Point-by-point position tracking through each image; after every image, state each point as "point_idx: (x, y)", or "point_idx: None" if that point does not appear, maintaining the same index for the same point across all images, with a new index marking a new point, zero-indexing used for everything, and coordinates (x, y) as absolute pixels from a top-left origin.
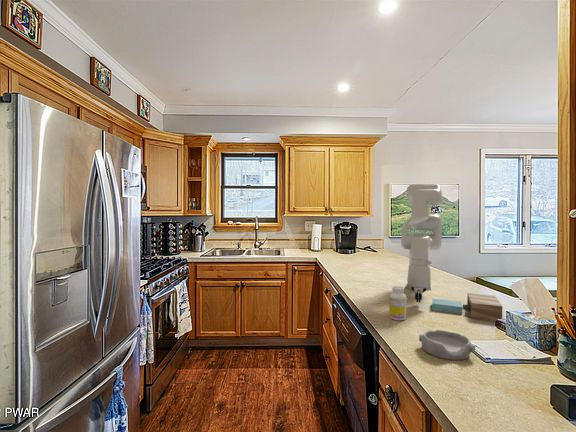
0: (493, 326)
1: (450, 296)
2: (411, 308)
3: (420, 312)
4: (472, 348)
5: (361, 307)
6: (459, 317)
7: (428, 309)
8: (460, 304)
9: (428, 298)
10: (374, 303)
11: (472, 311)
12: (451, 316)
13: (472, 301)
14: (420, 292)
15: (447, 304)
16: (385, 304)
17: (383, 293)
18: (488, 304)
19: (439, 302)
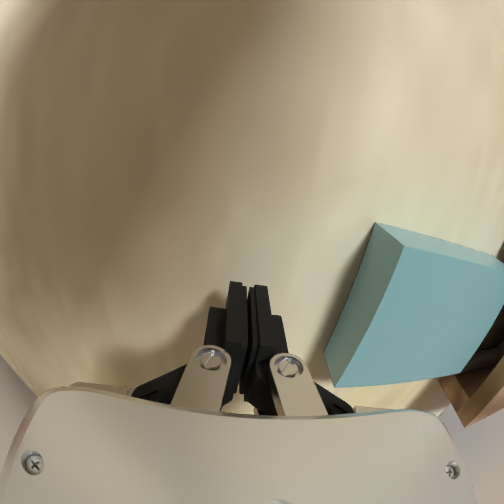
0: (441, 409)
1: (495, 5)
2: (187, 357)
3: (238, 400)
4: None
5: (7, 360)
6: (402, 393)
7: (302, 349)
8: (484, 333)
9: (381, 18)
10: (3, 302)
11: (452, 399)
12: (377, 397)
13: (483, 410)
14: (262, 409)
15: (422, 367)
16: (39, 310)
17: (11, 28)
18: (496, 410)
19: (399, 350)
